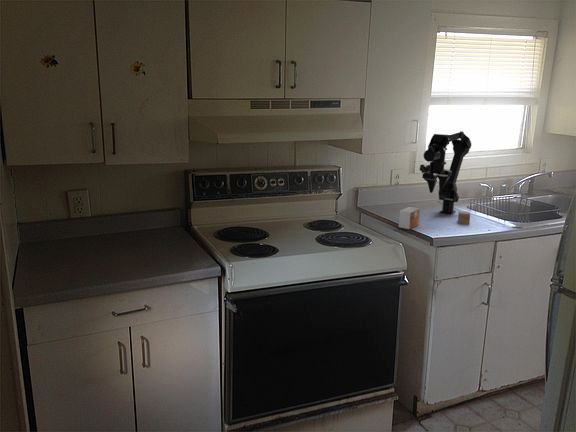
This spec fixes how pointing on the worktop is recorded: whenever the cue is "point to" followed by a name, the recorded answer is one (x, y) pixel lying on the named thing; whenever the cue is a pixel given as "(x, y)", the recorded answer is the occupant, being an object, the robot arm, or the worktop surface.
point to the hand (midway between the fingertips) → (435, 191)
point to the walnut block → (463, 217)
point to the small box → (409, 218)
